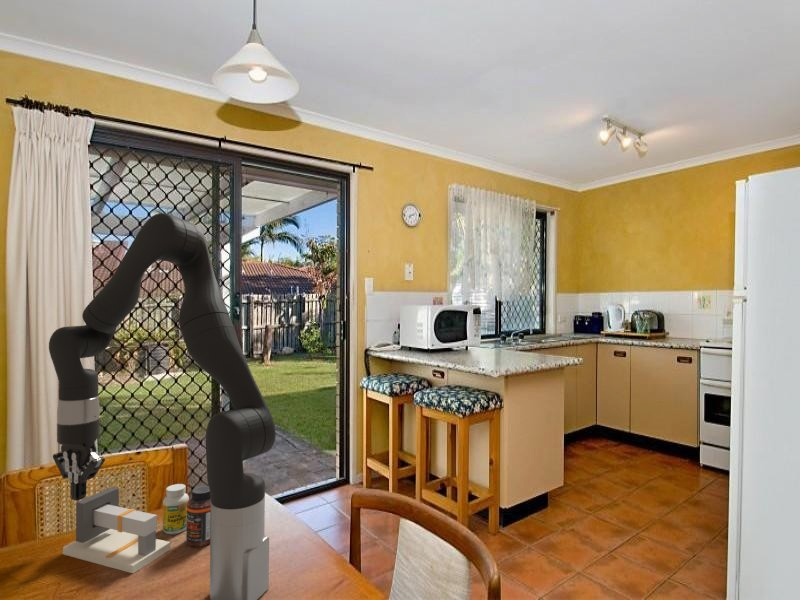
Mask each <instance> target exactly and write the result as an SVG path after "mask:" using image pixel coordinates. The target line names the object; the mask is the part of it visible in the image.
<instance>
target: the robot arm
mask: <svg viewBox="0 0 800 600" xmlns="http://www.w3.org/2000/svg"><path fill="white" fill-rule="evenodd" d="M208 246H209V245H208V243H207V239H206V237H205V234H204V232H203V230H202V229H201V228H200V227H199V226H197V224H195V223H192V222H190V221H188V220H185V219H183V218H180V217H177V216H174V215H173V214H169V213H164V212H161V213H156V214H154V215H152V216H150V218H148V220H147V221H145V223H144V224H143V225H142V226H141V228H140V229H139V231H138V233H137V234H136V235H135V237H134V239H133V240H132V242H131V244H130V245H129V247H128V249H127V250H126V252H125V254H124V256H123V257H122V258H121V260H120V262H119V264H118V266H117V268H116V269H115V271H114V273H113V274H112V276H111V277H110V279H108V281H107V283H106V284H105V285H104V286H103V287H102V288H101V290H99V292H98V293H97V294H96V295H95V296H94V298H92V300H91V301H90V302H89V303H88V304H87V306H86V307H85V308H84V309H83V311H82V316H81V317H82V321H83V322H84V325H70V326H62V327H60V328H57V329H55V331H54V332H53V333H52V334H51V336H50V338H49V341H48V352H49V355H50V359H51V361H52V364H53V367H54V371H55V373H56V377H57V379H58V401H57V403H58V404H57V410H56V443H57V444H58V445H61V446H60V451H58V452H57V453H53V455H52V459H53V461H54V463H55V464H56V467H57V469H58V471H59V472H60V475H61V477H62V478H63V479H67V481H68V483H70V499H71V501H72V500H73V501H76V502H78V501H80V500H83V499H85V498H86V495H87V481H88V480H89V481H90V480H92V479H94V478H95V477H96V475H97V473H98V472H99V470H100V469H101V467H102V465H104V463H105V461H106V459H105V457H104V456H100V457H99V455H98V454H97V447H96V444H95V443H96V441H97V440H98V439H99V437H100V423H101V422H100V417H101V415H100V414H101V413H100V409H101V408H100V401H99V400H100V399H99V374H98V372H97V371H96V370H94V369H91V368H84V366H83V364H82V361H81V359H85V358H86V359H87V358H91V357H97V356H98V355H100V354H101V353H103V352H104V351H105V350H106V349H107V348H108V347H109V345H110V343H111V341H112V339H113V337H114V335H115V332H116V330H117V327H118V326H120V324H121V323H122V322H123V321H124V320H125V319H126V318H127V317H128V316H129V314H130V313H131V312H132V311H133V310H134V309H135V307H136V305H137V303H138V301H139V298H140V293H141V286H142V279H143V276H144V275H145V273H146V271H147V270H148V269H149V268H151V266H152V265H153V264H154V263H155V262H157V261H158V260H160V261H165V262H168V263H171V264H174V265H176V267H177V269H178V271H179V273H180V275H181V279H182V281H183V285H184V295H183V299H182V302H181V305H180V308H179V313H178V326H179V328H180V332H181V335H182V339H183V342H184V345H185V348H186V350H187V352H188V353H189V356H190V357H191V359H192V360H193V361H194V362H195V363H196V364H197V365H198V366H199V367H200V368H202V370H203V371H205V372H206V373H207V374H208V375H209V376H210V377H211V378H213V379H214V380H215V381H216V382H217V383H218V384H219V386H221V387H222V388H223V390H224V391H225V394H227V395H226V396H228V399H229V401H230V403H231V405H232V407H233V409H228V410H224V411H221V412H218V413H215V414H214V415H212V417H211V418H210V419H209V421H208V423H207V427H206V431H205V459H206V479H207V486H209V489H210V494H211V519H210V543H209V544H210V545H209V549H210V550H209V600H258V599H259V598H260V597H261V596H263V594H265V593H266V592H267V590H268V589H270V588H269V587H270V537H269V536H267V535H265V532H266V531H265V528H266V527H265V525H266V524H265V523H266V522H265V516H266V515H265V513H266V511H265V509H266V508H265V507H266V505H265V504H266V482H265V480H264V479H263V477H262V476H260V475H258V474H254V473H250V472H244V465H243V464H244V461H246V460H250V459H252V458H255V457H257V456H261V455H263V454H266V453H267V452H269V451H270V450H272V448H273V447H274V445H275V442H276V435H277V434H276V432H277V431H276V426H275V421H274V418H273V416H272V413H271V411H270V408H269V407H268V404H267V402H266V400H265V399H264V396H263V394H262V391H261V390H260V388H259V387H258V384H257V383H256V380H255V379H254V376H253V373H252V372H251V369H250V367H249V364H248V362H247V360H246V357H245V355H244V352H243V349H242V347H241V345H240V342H239V339H238V336H237V335H238V334H237V332H236V329H235V326H234V323H233V320H232V319H231V315H230V314H229V313H230V312H229V311H228V308H227V306H226V303H225V301H224V298H223V295H222V292H221V290H220V286H219V283H218V281H217V278H216V275H215V270H214V266H213V263H212V258H211V255H210V250H209V247H208Z"/></svg>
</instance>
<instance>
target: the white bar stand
mask: <svg viewBox="0 0 800 600" xmlns="http://www.w3.org/2000/svg"><path fill="white" fill-rule="evenodd" d="M93 525H97V526H101V527H105V528H109V530H107V531H105V532H103V533H102V534H100V535H98V536H96V537H94V538H92V539H90V540H88V541H86V542H84V543H81V542H77V541H76V540H75V541H72V542H70V543H68V544H67V545H64V546H63V547H62V554H63V555H64V556H68V557H72V558H75V559H79V560H82V561H85V562H90V563H93V564H97V565H100V566H105V567H107V568H112V569H116V570H120V571H123V572H127V573H130V574H135V573H136V572H138V571H139V570H141V569H143V568H144V567H146V566H147V565H148V564H150V563H152V562H153V561H155V560H156V559H158V558H160V557H161V556H162V555H164V554H166V553H167V552H168V551H170V550H171V541H167V540H164V539H158V538H157V530H158V514H155V513H154V514H153V513H150V512H145V511H141V510H136V508H126V507H122V506H119V507H117V506H113V505H108V504H103V505H101V506H99V507H97V508H94V509H93Z"/></svg>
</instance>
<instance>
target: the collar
mask: <svg viewBox="0 0 800 600" xmlns="http://www.w3.org/2000/svg"><path fill="white" fill-rule="evenodd" d="M119 493H120V488H119V487H113V486H111V487H109V488H106V489H104V490H101V491H100V492H97V493H95V494H94V493H93V494H92V495H90V496H88V497H85V498H83V499H80V500H78V501H76V502H75V504H76V506H75V541H77V542H81V543H84V542H86V541H88V540H90V539H92V538H94V537H96V536H98V535H100V534H102V533H103V532H105V531H107V530H109V528H105V527H101V526H97V525H93V509H94V508H97V507H99V506H101V505H103V504H108V505H113V506H117V507H120V501H119V500H120V498H119V497H120V494H119Z"/></svg>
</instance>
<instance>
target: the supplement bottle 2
mask: <svg viewBox="0 0 800 600" xmlns="http://www.w3.org/2000/svg"><path fill="white" fill-rule="evenodd" d="M191 490H192V491H191V498H189V501H188V503H187V529H186V530H185V531H186V537H185V538H186V539H185V540H186V543H187V545H188V546H190V547H203V546H206V545H209V544H210V519H211V494H210V489H209V486H208V485H201V486H196V487H195V488H193V489H191Z"/></svg>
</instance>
